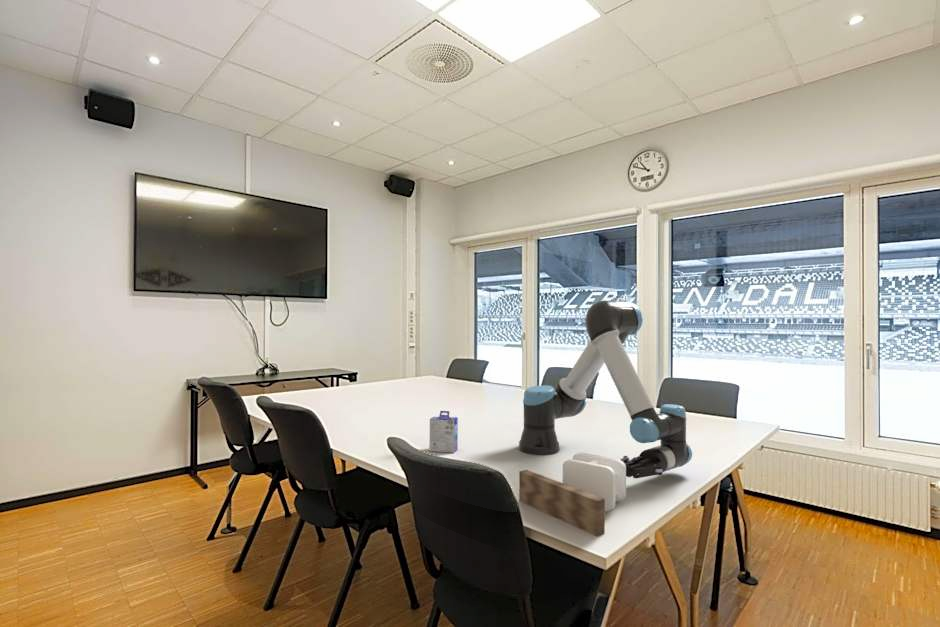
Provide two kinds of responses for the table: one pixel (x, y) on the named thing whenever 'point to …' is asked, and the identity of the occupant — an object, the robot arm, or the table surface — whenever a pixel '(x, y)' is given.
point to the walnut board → (563, 502)
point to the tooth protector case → (597, 476)
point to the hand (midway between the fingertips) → (609, 475)
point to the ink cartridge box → (444, 433)
